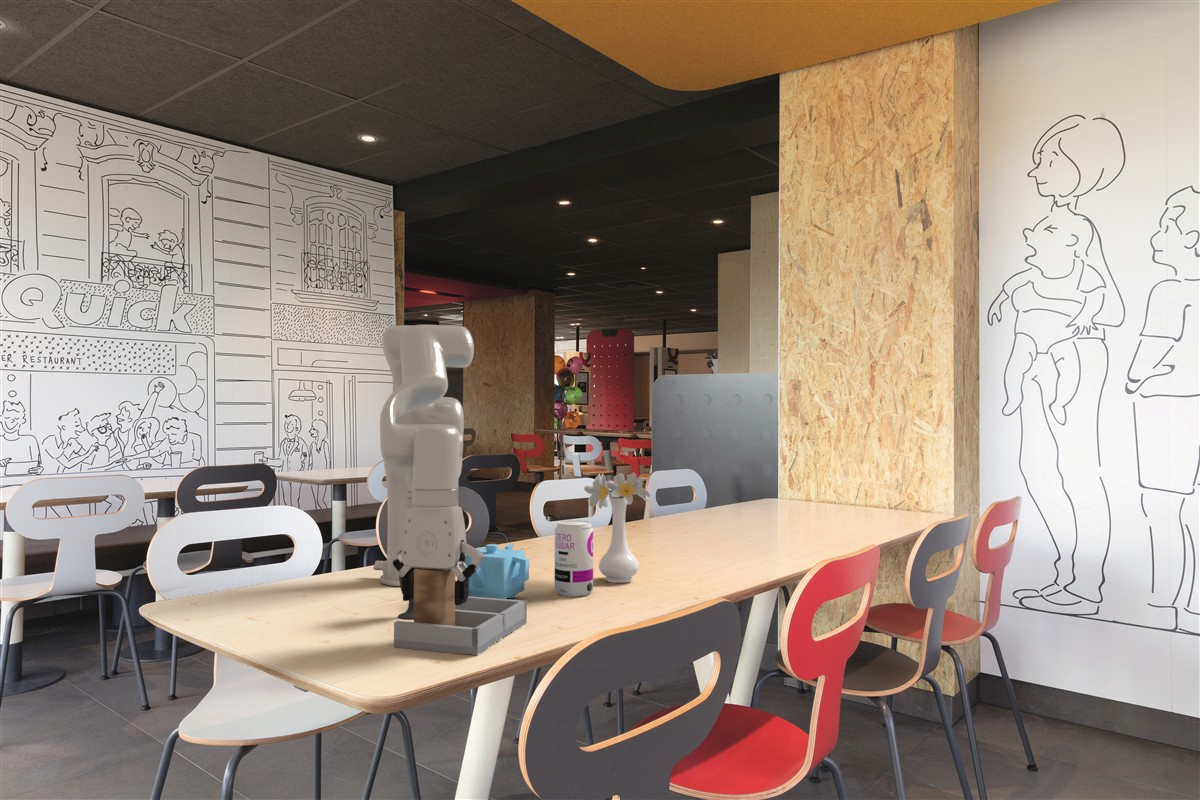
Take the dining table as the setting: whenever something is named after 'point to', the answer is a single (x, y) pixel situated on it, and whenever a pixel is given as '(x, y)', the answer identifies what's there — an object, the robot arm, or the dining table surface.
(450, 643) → the grey divided tray
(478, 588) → the teapot
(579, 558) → the soda can
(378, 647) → the dining table surface
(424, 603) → the walnut block
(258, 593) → the dining table surface
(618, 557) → the flower vase
